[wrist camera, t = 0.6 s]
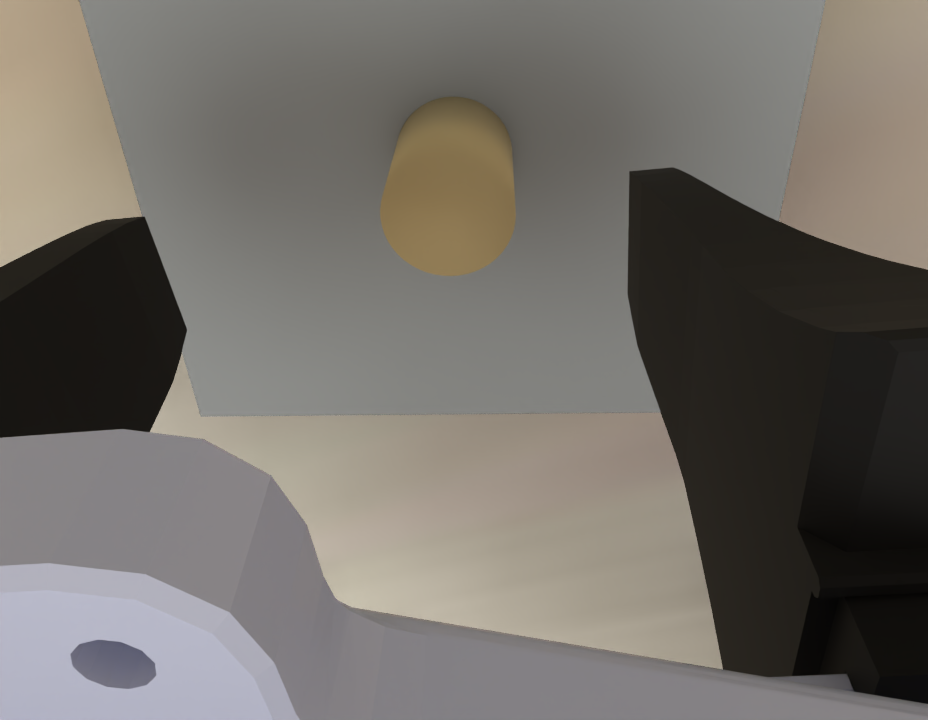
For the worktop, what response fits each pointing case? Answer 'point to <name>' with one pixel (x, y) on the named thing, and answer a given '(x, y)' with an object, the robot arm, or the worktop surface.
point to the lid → (432, 184)
